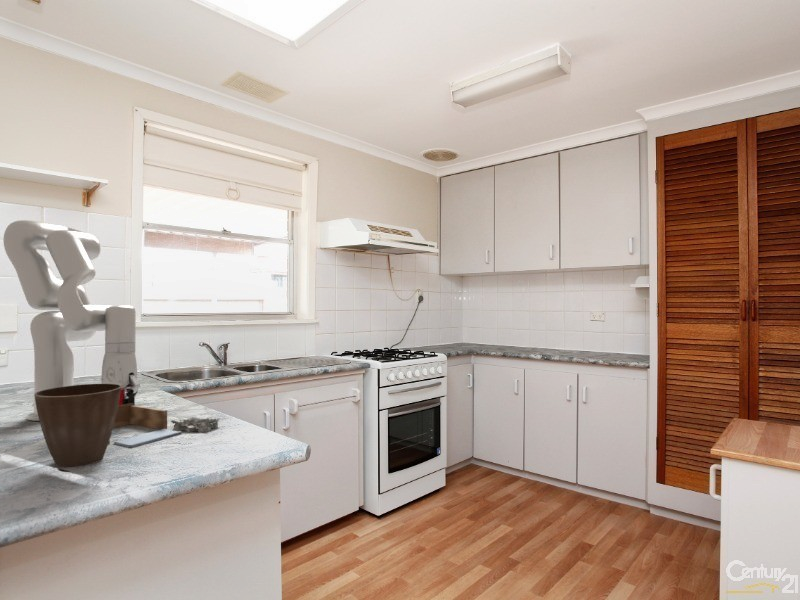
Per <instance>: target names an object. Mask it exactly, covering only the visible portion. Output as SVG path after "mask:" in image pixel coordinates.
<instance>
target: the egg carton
mask: <svg viewBox="0 0 800 600" xmlns="http://www.w3.org/2000/svg"><path fill="white" fill-rule="evenodd" d="M220 420H221V418H214V419H213V418H210V417H209V418H198V417H196V416H193V417H190V418H187V419H183V421H178V420H177V421H176V420H171V421H170V423H172V424H173V430H174V431H185V432H188V433H189V432H198V433H204V432H205V433H206V432H210V431H211V430H212V429H217V428H219V421H220ZM189 425H193V426H191V427H189Z"/></svg>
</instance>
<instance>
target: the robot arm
mask: <svg viewBox="0 0 800 600" xmlns="http://www.w3.org/2000/svg"><path fill="white" fill-rule="evenodd" d="M2 241H3V247H4V251H5V254H6V255H7V257H8V259H9V261H10V262H11V264H12V266H13V268H14V269H15V272H16V274H17V277H18V280H19V282H20V283H19V284H20V286H21V288H22V291H23V295H24V297H25V300H26V301H27V305H29V307H31V308H32V309H33V310H34V309H35V310H37V311H44V312H40V313H38V314H36V315H35V316H33V317H32V319H31V321H30V328H29V329H30V330H29V331H30V336H31V339H32V344H33V345H32V346H33V353H34V360H33V361H34V365H33V366H34V369H33V370H34V375H33V376H34V381H33V382H34V383H33V384H34V387H33V391H34V393H33V396H34V394H35V393H36V392H39V391H42V390H46V389H51V388H57V387H64V386H73V385H75V384H74V383H75V382H74V377H75V376H74V354H73V352H72V349H71V348H70V346H69V344H68V343H69V342H80V341H81V342H82V341H85V340H86V341H87V340H89V339H91V338H92V337H94V335H95V334H96V332H99V331H100V332H101V331H103V332H104V355H103V360H102V364H101V365H102V366H101V381H100V384H117V385H120V386H121V390H122V392H123V395H124V398H125V399H123V404H129V403H133V405H135V400H136V398H137V393H138V391H139V389H140V387H141V384H140V383H139V380H138V367H137V366H138V364H137V358H136V357H137V356H136V315H137V313H136V308H135V307H134V306H131V305H110V304H91V302H90V300H89V297H88V295H87V292H86V290H85V289H84V287H83V285H86V284H87V283H89V282H90V281H92V280H93V279H94V278H95V276H96V270H95V269H96V268H94V266H93V263H92V260H95V259H97V258H98V257H99V256H100V254H101V244H100V241H99V239H97V238H96V236H94V235H93V234H91V233H89V232H85V231H81V230H78V229H75V228H72V227H70V226H69V227H68V226H64V225H59V224H53V223H46V222H42V221H36V220H27V219H24V220H23V219H22V220H16V221H13V222H11V223H9V224H8V226H7V227H6V228H5V230H4V234H3V240H2ZM38 250H39V251H40V250H41V251H47V252H49V254H50V257H51V259H52V261H53V262H54V264H55V267H56V269H57V271H58V274H59V275H60V277H61V279H58V278H57V277H56V276H55V275H54V273H53V269H52V267H51V265H50V263H49V261H47V259H46V258H45V257H44V256H43V255H41V254H40V253H39V252H38ZM110 381H111V382H110ZM127 385H130V386H131V387H126V386H127ZM127 390H130V391H129V392H128V393H127ZM33 399H34V400H33V402H34V403H33V404H32V408H33V412H31V413H29V414H27V417H26V418H27V420H28V421H33V422H34V421H35V422H40V421H39V417H38V413H37V408H36V402H35V396H34V397H33ZM135 406H136V405H135Z"/></svg>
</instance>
